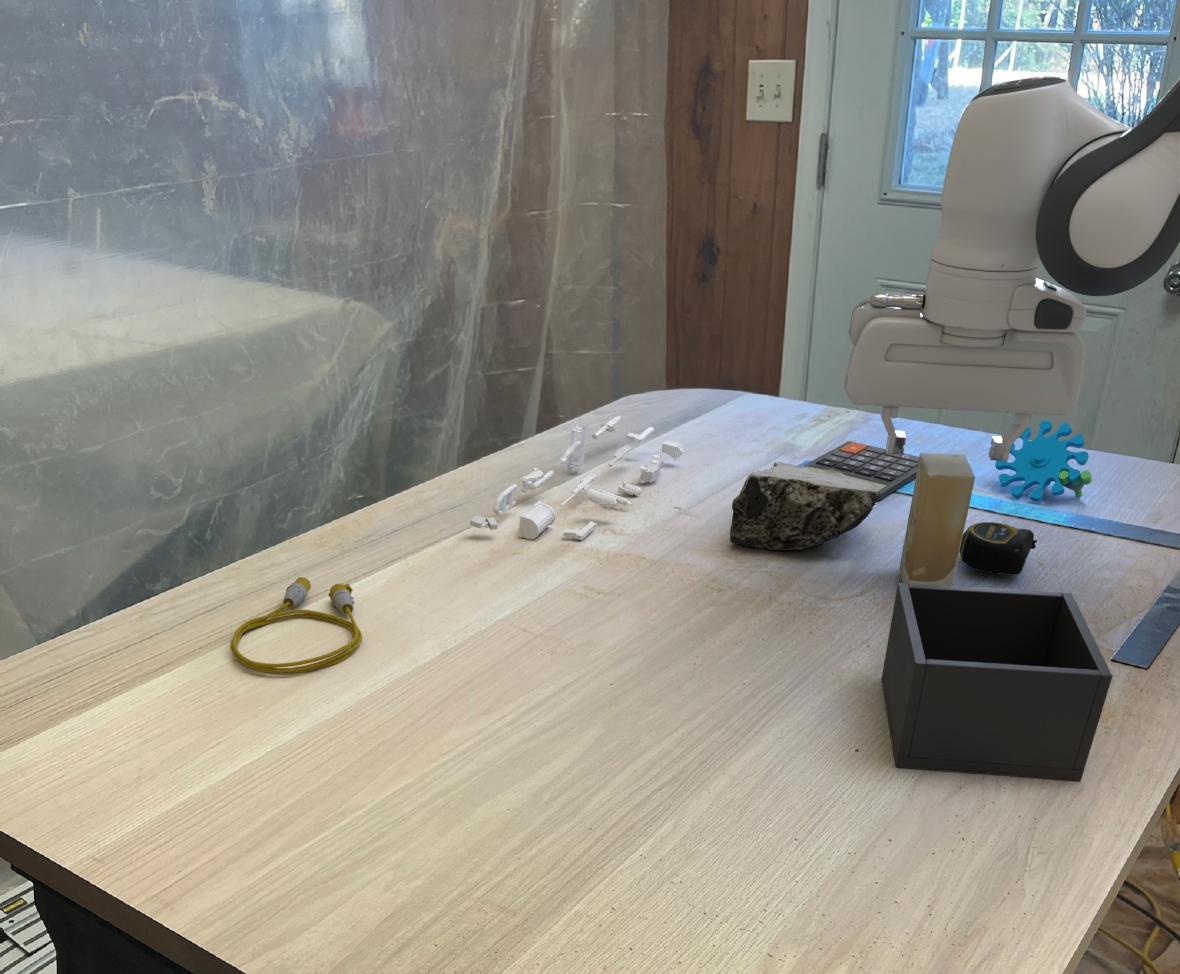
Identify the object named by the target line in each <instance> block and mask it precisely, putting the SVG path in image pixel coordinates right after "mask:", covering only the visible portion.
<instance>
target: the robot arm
mask: <svg viewBox="0 0 1180 974" xmlns="http://www.w3.org/2000/svg"><path fill="white" fill-rule="evenodd" d="M940 212H941V225H940V229H939V230H940V231H939V234H938V237H937V240H936V242H935V243H934V246H933V248H932V251H931V255H930V261H929V266H928V271H927V277H926V283H925V289H924V294H896V295H895V294H887V293H881V292H879V293H873V294H872V295H871V297H868V298H864V299H863V300H861V301H859V303H857V304H856V306H855V307H854V308H853V310H852V312H851V316H850V322H849V328H848V335H849V339H850V342H851V344H852V349H851V350H850V351H851V352H850V355H849V359H848V363H847V367H846V372H845V377H844V383H843V385H844V386H843V387H844V392H845V393H844V394H845V395H846V397H847V398H848V400H849V401H850V403H851V404H853V405H855V406H856V405H857V406H873V407H874V406H875V407H879V414H880V418H881V420H882V424H883V425H884V428H885V431H886V433H887V437H886V443H885V449H886V453H887V454H890V455H892V454H893V455H903V453H904V454H905V448H904V446H906V440H907V436H906V432H905V431H903V430H902V431H901V430H896V428H895V425H894V423H893V420H892V419H897V418H898V413H899V408H913V409H932V410H948V411H951V410H952V411H967V412H985V413H1005V414H1009V419H1010V420H1011V424H1010V425H1009V426H1008V427H1007V429H1006V430H1005V431H1004V432H1003V433H1002V434H1001V436H992V437H991V440H990V445H991V446H990V447H989V450H988V458H989V460H990V461H995V462H996V461H1007V462H1008V460H1009V456H1010V449H1011V444H1012V443H1014V444H1015V442H1016V441H1017V440H1018V438H1020V435H1021V434H1022V433H1023V432H1024V431H1025V430H1026V428H1027V427H1028V426H1029V427H1030V422H1031V419H1032V418H1031V417H1032V415H1039V416H1041V415H1042V416H1065V415H1067V414H1069V413H1070V411H1071V410H1073V408H1075V407H1076V406H1077V403H1078V400H1079V397H1080V392H1081V388H1082V383H1083V376H1084V367H1085V361H1086V360H1085V359H1086V351H1085V350H1086V349H1085V344H1084V340H1083V339H1082V337H1081V336H1080V335H1079V333H1078V331H1080V330H1081V329H1082V327H1083V326H1084V323H1085V320H1086V317H1087V310H1086V306H1084V305H1085V304H1084V303H1083V302H1082V301H1081V300H1080V299H1079V298H1078V297H1077V296H1076V295H1075V294H1078V295H1081V296H1082V295H1083V296H1087V297H1088V296H1089V297H1108V296H1115V295H1119V294H1122V293H1125V292H1129V291H1130V290H1132V289H1134V288H1136V287H1138V286H1140V285H1142V284H1143V283H1146V282H1147V281H1148V280H1149V279H1151V278H1153V276H1154V275H1156V274H1157V273H1158V272H1159V271H1160V270H1162V268H1163V267H1164V266H1165V265H1166V263H1167V262H1168V261H1169V260H1170V258H1171V257H1172V256H1173V254H1174V253H1175V251H1176V249H1177V248H1178V246H1179V244H1180V77H1179V78H1178V79H1177V80H1176V81H1175V82H1174V84H1173V85H1172V86H1171V87H1170V88H1169V89H1168V91H1167V92H1166V93H1165V94H1164V95H1163V97H1162V98H1161V99H1160V100H1159V101H1158V102H1157V103H1156V105H1155V106H1153V108H1152V109H1151V110H1150V111H1149V112H1148V113H1147V114H1146V115H1145V116H1144V117H1143V118H1142V119H1140V121H1138V122H1137V123H1136V124H1135V125H1134V126H1132V127H1131V126H1128V125H1126V124H1124V123H1122V122H1120V121H1118V120H1115V118H1112V117H1110V116H1109V115H1107V114H1105V113H1104V112H1102V111H1101V110H1099V109H1098V108H1097V107H1096V106H1093V104H1091V103H1089V101H1087V100H1086V99H1085V98H1083V97H1082V96H1081V94H1079V93H1078V92H1077V91H1076V90H1075V89H1074V88H1073V87H1072V86H1071V84H1070V82H1069V81H1068V80H1067V79H1065V78H1061V77H1060V76H1047V75H1046V76H1045V75H1044V76H1042V77H1041V76H1040V77H1039V76H1036V77H1035V76H1034V77H1029V78H1027V77H1026V78H1021V79H1016V80H1009V81H1005V82H1002V83H998V84H993V85H990V86H989V87H986V88H985V89H982V90H981V91H980V92H979V93H977V94H976V95H974V96H973V97H972V99H970V101H969V102H968V103H967V104H966V105H965V107H964V109H963V111H962V113H961V114H960V118H959V120H958V123H957V125H956V130H955V133H954V137H953V140H952V144H951V147H950V153H949V157H948V161H947V165H946V171H945V175H944V179H943V186H942V192H941V196H940ZM1040 262H1041V264H1042V265H1043V269H1045V271H1046V272H1047V274H1048V275H1049V276H1050V277H1051V278H1052V279H1053V280H1054V281H1055V283H1057V284H1059V286H1061V287H1059V286H1057V285H1055V284H1052V283H1050V282H1048V281H1044V280H1041V279H1039V278H1038V277H1037V274H1038V270H1039V265H1040ZM1062 287H1063V288H1062ZM1068 290H1069V291H1068ZM1070 291H1071V292H1073V293H1075V294H1073V293H1071V292H1070ZM868 304H869V305H868Z"/></svg>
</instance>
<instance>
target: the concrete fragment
mask: <svg viewBox="0 0 1180 974" xmlns="http://www.w3.org/2000/svg"><path fill="white" fill-rule="evenodd" d="M879 494H880V488H879V487H878V486H876V485H874V484H873V483H871V482H870V481H865V480H862V479H858V478H853V477H850V476H847V475H844V474H843V473H842V472H840V471H836V470H831V469H823V470H819V469H816V468H810V467H804V466H803V465H795V464H791V463H786V462H785V463H784V462H782V461H776V462H774V463H773V465H772V466H771V467H770V469H768V468H767V469H764V470H757V471H754V472H751V473H750V474H748V476H747V477H746V479H745V481H744V483H743V486H742V487H741V489H740V492H739V494H738V495H737V496H736V497H735V498H733V500H732V504H731V509H732V516H731V524H730V530H729V537H730V538H729V541H730V543H732V544H736V545H740V546H745V547H749V548H750V547H751V548H758V549H764V548H765V549H768V550H772V551H791V550H800V551H802V550H805V549H808V548H812V547H814V546H818V545H821V544H824V543H826V542H829V541H831V540H833V539H835V538H838V537H840V536H841V535H844V534H846V533H848V532H851V531H853V530H854V529H855V528H857V527H859V525H860V524H862V523H863V522H864V521H865V520H866V519H867V518H868V516H869V515H870V514H871V512H872V511H873V508H874V506H875V505H876V503H877V499H878V497H879Z"/></svg>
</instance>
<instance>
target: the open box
mask: <svg viewBox="0 0 1180 974" xmlns="http://www.w3.org/2000/svg"><path fill="white" fill-rule="evenodd" d="M892 609H893V610H892V616H891V619H890V620H891V621H890V625H889V632H888V638H887V643H886V650H885V656H884V661H883V667H882V673H881V686H882V692H883V698H884V705H885V710H886V716H887V717H886V718H887V723H888V729H889V735H890V740H891V747H892V753H893V759H894V766H895V768H896V769H897V768H901V769H911V770H925V771H940V772H954V773H964V774H965V773H966V774H968V773H969V774H979V775H980V774H981V775H992V776H993V775H995V776H1005V777H1007V776H1008V777H1021V778H1033V779H1046V780H1047V779H1048V780H1049V779H1050V780H1060V781H1061V780H1062V781H1076V782H1081V780H1082V778H1083V775H1084V772H1085V768H1086V765H1087V762H1088V759H1089V755H1090V752H1091V749H1092V746H1093V742H1094V739H1095V735H1096V732H1097V729H1098V726H1099V722H1100V719H1101V716H1102V713H1103V710H1104V706H1105V703H1106V699H1107V696H1108V694H1109V689H1110V687H1111V684H1112V680H1113V674H1112V671H1111V670H1110V667H1109V666H1108V664H1107V662H1106V660H1105V658H1104V656H1103V653H1102V652H1101V650H1100V648H1099V645H1098V644H1097V642H1096V640H1095V638H1094V636H1093V634H1092V632H1091V629H1090V627H1089V626H1088V624H1087V622H1086V620H1085V618H1084V616H1083V614H1082V611H1081V610H1080V608H1079V606H1078V603H1077V602H1076V599H1075V598H1074V596H1073V594H1072V593H1071V592H1058V591H1043V590H1042V591H1041V590H1023V589H1009V588H1008V589H1006V588H990V587H988V588H987V587H972V586H971V587H970V586H957V585H955V586H954V585H952V586H940V585H922V584H907V583H903V582H898V583H897V586H896V591H895V597H894V603H893V608H892Z"/></svg>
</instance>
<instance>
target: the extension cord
mask: <svg viewBox="0 0 1180 974" xmlns="http://www.w3.org/2000/svg"><path fill="white" fill-rule="evenodd" d="M311 587H312V584H311V582H310V580H309V579H308V578H307V577H304V576H300V577H297V578H296V579H295V581H294V582H291V584H290V585H289V586H287V587H286V589H285V594H284V597H283V599H282V605H280V606H279V607H278V608H276V609H274V610H273V611H271V612H269V613H268V614H266V615H262V616H258V617H255V618H252V619H249V620H247V621H245V622H243V623H242V624H241V625H240V626H239V627H238V628H237V629H236V630H235V632H234V633H233V636H232V639H231V644H230V649H231V653H232V655H233V656H234V658H235V659H236V660H237V661H238V662H240V663H241V664H242V665H244V666H246V667H247V668H250V669H253V670H255V671H259V672H263V673H268V674H277V675H279V674H281V675H283V674H284V675H285V674H297V673H298V674H299V673H304V672H310V671H313V670H319V669H323V668H326V667H329V666H332V665H335V664H338V663H340V662H342V661H344V660H346V659H347V658H349V657H350V656H351V654H352V653H353V652H354V651H355V650H356V649H357V648H358V647H359V646H360V645H361V643H362V641H363V633H362V632H361V630H360V628H359V627H358V625H357V623H356V620H355V618H354V616H353V614H352V613H353V611H354V604H355V601H354V599H355V597H354V596H352V593H353V588H352V587H351V585H350V583H346V584H343V583H335V584H333V585H332V586H331V587H330V588H329V589H330V590H329V593H328V594H327V595H328V597H329V598H330V601H331V603H332V605H334V607H335V608H337V609H338V610H339V611H340V612H341V613H342V614H343V615H347V616H348V618H349V620H348V619H345V618H344V617H341V616H337V615H334V614H331V613H326V612H321V611H317V610H316V611H315V610H311V609H293V608H295V607H296V606H298V605H299V604H301V603H302V604H303V602H305V600H306V597H307V596H308V592H309V591H310V589H311ZM286 608H287V609H290V610H285V609H286ZM283 610H284V611H283ZM295 618H311V619H319V620H323V621H327V622H330V623H334V624H336V625H339V626H341V627H344V628H345V629H347V630H349V631H350V632H351V633H352V634H351V635H352V639H351V640H350V641H349V642H348V643H347V644H345V645H344V646H341V647H340V648H338V649H335V650H333V651H331V652H328V653H325V654H322V655H319V656H316V657H313V658H308V659H304V660H298V661H292V662H281V663H266V662H259V661H255V660H252V659H249V658H247V657H246V656H245V655H243V654H242V653H241V652H240V651H239V649H238V645H239V642H240V640H241V638H242V636H243V634H244V633H246V632H247V631H250V630H252V629H254V628H257V627H260V626H263V625H267V624H270V623H275V622H279V621H284V620H289V619H295Z"/></svg>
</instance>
